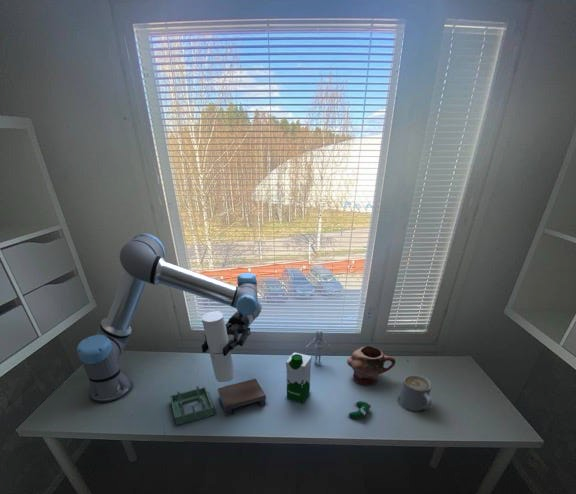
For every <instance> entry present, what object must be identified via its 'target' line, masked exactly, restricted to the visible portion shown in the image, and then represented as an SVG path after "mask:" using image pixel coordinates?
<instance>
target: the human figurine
mask: <svg viewBox="0 0 576 494" xmlns="http://www.w3.org/2000/svg"><path fill="white" fill-rule="evenodd" d="M314 342H316V343H315V345H314V352H315V355H314V357H315V362H314V364H315V366H317V365H319V366H320V365H321V357H322V355H321V354H322V351H323V344H322V342H324V343H325V344H326V345H327V346H329V347H330V349H332V346H331V344H329V343H328V341H326V340H325V338H324V337H323V331H322V330H321V329H317V330H316V333H315V337H314V338H313V340H312V341H310V342H309V343H308V344H306V346H305V349H307V348H308V347H309V346H310V345H312V344H313V343H314Z"/></svg>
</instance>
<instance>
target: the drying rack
mask: <svg viewBox="0 0 576 494" xmlns="http://www.w3.org/2000/svg"><path fill="white" fill-rule="evenodd" d="M176 392H177V393H174V394H170V395H169V398H170V403H171V408H172V413H173V417H174V420H175V424H176V426H178V425H182V424H184V423H189V422H193V421H196V420H199V419H203V418H206V417H210V416H213V415H215V410H214V406H213V403H212V401H211V398H210V395H209V392H208V390H207V387H206V386H202V387H199V386H198V385H196V386H195V389H191V390H187V391H182V392H180V390H177V391H176ZM194 401H199V402H200V406H201V409H199V410H195V406H194V405H191V409H192V412H188V413H186V412H185V407H184V404H186V403H189V402H194Z"/></svg>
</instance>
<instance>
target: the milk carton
mask: <svg viewBox="0 0 576 494" xmlns="http://www.w3.org/2000/svg"><path fill="white" fill-rule="evenodd" d="M312 358H313V357H312V355H308V354H304V353H299V352H293V353H292V354H290V356H289V357H288V358H287V360H286V361H285V368H286V399H287V400H290V401H294V402H298V403H301V404H303V403H305V400H306V399H307V397H308V396H309V395H310V390H311V372H312V371H311V368H312Z"/></svg>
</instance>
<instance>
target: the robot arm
mask: <svg viewBox="0 0 576 494" xmlns="http://www.w3.org/2000/svg"><path fill="white" fill-rule="evenodd" d="M165 253H166V251H165V247H164V245H163V242H162V241H161V240H160V239H159V238H158V237H156V236H155V235H153V234H150V233H140V234H137V235H135V236H134V237H133V238H132V239H131V240H130V241H128V242H126V243H125V244H123V246H122V247H121V249H120V251H119V261H120V264H121V266H122V268H123V274H122V276H121V279H120V282H119V284H118V288H117V290H116V293H115V296H114V298H113V301H112V304H111V307H110V309H109V312H108V315H107V317H105V318H103V319H101V321H100V324H99V327H98V329H97V332H96V334H94V335H90V336H88V337H87V338H84V339H82V340H81V341H80V342H79V343H78V345H77V347H76V351H77V355H78V358H79V360H80V362H81V365H82V367H83V369H84V372H85V373H86V376H87V377H88V380H89V395H90V397H91V399H92V400H93V401H94V402H97V403H108V402H113V401H117V400H119V399H121V398H123V397H125V396H126V395H127V394H128V393H129V392H130V390H131V388H132V383H131V381H130V380H129V378H128V377H127V376H126V375H125V374H124V372H122V370H121V368H120V367H121V366H120V364H119V362H118V359H119V357H120V356H121V354H122V353H123V351H124V349H125V348H126V347H127V346H128V344H129V342H130V340H131V334H132V327H131V326H130V325H131V323H132V321H133V318H134V316H135V313H136V310H137V308H138V306H139V304H140V301H141V299H142V296H143V294H144V292H145V289H146V288H147V287H146V286H147V284H151V285H155V286H157V285H159V284H161V285H164V286H166V287H170V288H174V289H175V290H178V291H179V290H180V291H183V292H185V293H189V294H191V295H194V296H198V297H201V298H204V299H206V300H209V301H213V302H216V303H219V304H223V305H225V306H228V307H231V308H235V309H236V310H237V311H236V312H234V314H232V315H231V316H230V317H229V319H228V321H227V322H226V323H225V325H226V331H227V336H229V335H231V336H233V339H230V340H228V341H229V342H228V343H227V345H226V346H225V347H224V348H223V355H224V356H226V355H227V354H228V353H229V351H230V352H231V351H233V350H234V349H235V348H236V347H238V346H239V347H243V346H244V344H245V342H246V340H247V339H248V338H249V336H251V334H252V333H251V327H250V326H251V325H252V323H253V322H254V321H255V320H256V319H257V318H258V317H259V316H260V314H261V312H262V309H263V307H262V304H261V302H260V301H259V299H258V281H257V276H256V274H255V273H252V272H243V273H239V274H238V275H237V277H236V279H237V285H234V284H231V283H228V282H225V281H222V280H219V279H217V278H213V277H211V276H208V275H206V274H202V273H199V272H196V271H194V270H192V269H191V270H190V269H188V268H185V267H182V266H179V265H176V264H173V263H171V262H168V261H166V260H165V256H166V254H165ZM239 335H240V337H239ZM204 339H205V340H204V341H203V343H202V344H201V351H202V353H204V354H205V353H207V352H208V351H209V348H208V344H207V339H206V335H205V334H204Z"/></svg>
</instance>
